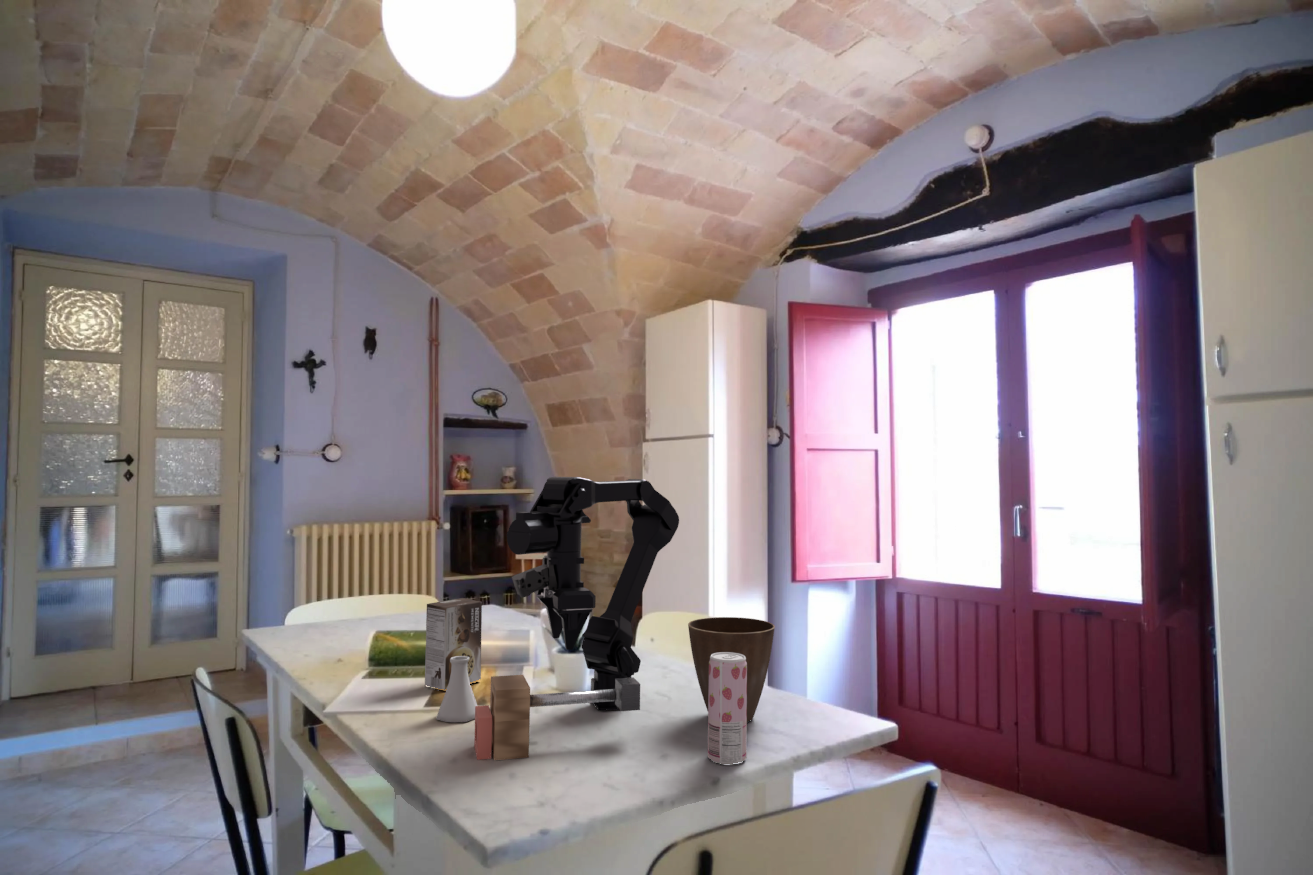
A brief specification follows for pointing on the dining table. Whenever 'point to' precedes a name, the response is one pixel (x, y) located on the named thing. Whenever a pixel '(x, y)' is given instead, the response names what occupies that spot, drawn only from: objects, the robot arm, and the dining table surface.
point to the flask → (458, 694)
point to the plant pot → (737, 638)
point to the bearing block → (510, 717)
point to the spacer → (483, 732)
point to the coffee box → (452, 639)
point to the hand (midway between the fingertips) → (562, 643)
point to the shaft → (595, 696)
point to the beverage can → (727, 707)
